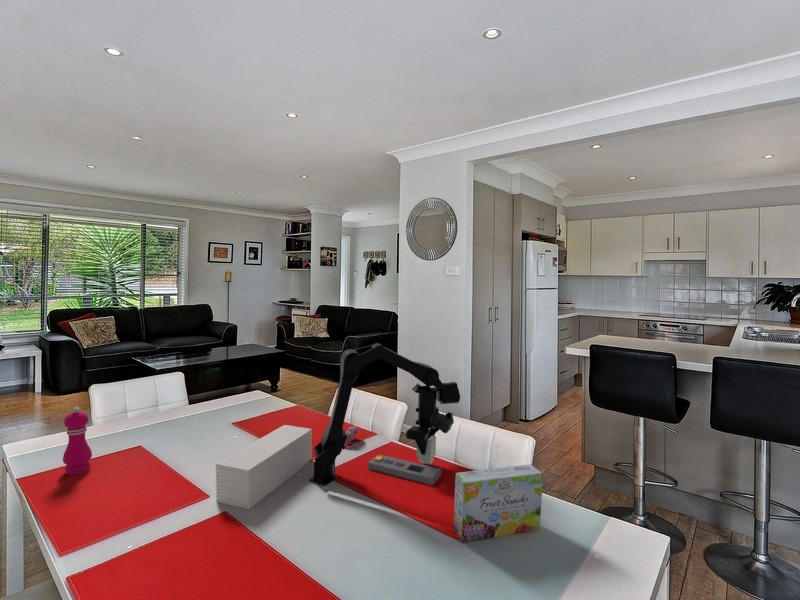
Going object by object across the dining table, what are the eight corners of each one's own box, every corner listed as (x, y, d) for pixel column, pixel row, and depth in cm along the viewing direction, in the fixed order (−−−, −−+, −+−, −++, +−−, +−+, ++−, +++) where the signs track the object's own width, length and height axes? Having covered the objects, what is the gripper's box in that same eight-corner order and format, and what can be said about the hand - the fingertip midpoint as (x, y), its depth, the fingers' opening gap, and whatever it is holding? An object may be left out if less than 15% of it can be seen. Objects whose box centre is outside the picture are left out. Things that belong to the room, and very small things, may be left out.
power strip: (432, 488, 125) (432, 476, 125) (367, 471, 135) (367, 460, 135) (440, 478, 132) (441, 467, 131) (378, 463, 141) (378, 452, 141)
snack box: (462, 545, 100) (464, 482, 99) (452, 531, 105) (454, 471, 104) (541, 531, 106) (543, 471, 105) (528, 518, 111) (530, 462, 110)
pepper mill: (58, 472, 131) (56, 408, 130) (84, 463, 138) (82, 402, 136) (70, 478, 128) (68, 412, 127) (97, 468, 134) (95, 406, 133)
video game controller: (346, 451, 154) (355, 435, 153) (335, 445, 154) (344, 429, 153) (354, 441, 163) (362, 426, 162) (344, 435, 164) (352, 419, 163)
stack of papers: (284, 455, 147) (284, 424, 146) (311, 460, 143) (311, 428, 143) (216, 502, 116) (215, 463, 116) (248, 509, 113) (248, 470, 112)
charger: (430, 465, 136) (431, 440, 135) (416, 462, 138) (416, 437, 137) (435, 460, 139) (436, 436, 139) (421, 457, 141) (421, 433, 141)
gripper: (439, 417, 125) (438, 469, 126) (460, 401, 142) (459, 447, 143) (405, 411, 130) (404, 461, 131) (429, 396, 147) (428, 440, 148)
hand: (425, 452), depth 138 cm, fingers closed on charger, 4 cm apart
